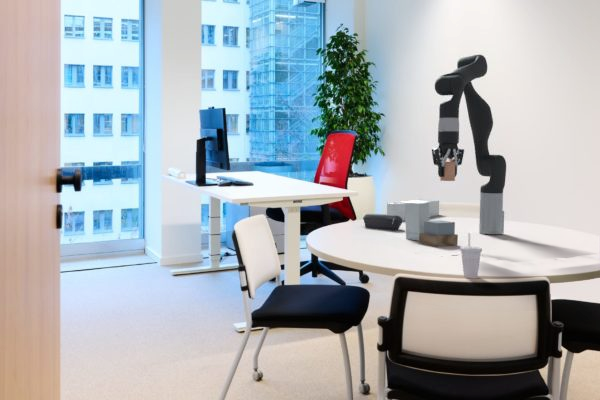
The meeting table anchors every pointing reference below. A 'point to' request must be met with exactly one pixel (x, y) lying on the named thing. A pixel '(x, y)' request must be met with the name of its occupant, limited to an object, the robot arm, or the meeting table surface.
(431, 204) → the long grey block
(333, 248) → the meeting table surface
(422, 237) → the tower base
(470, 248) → the smoothie
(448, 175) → the peach capsule
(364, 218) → the glasses case
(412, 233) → the skincare box
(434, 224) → the tower top
